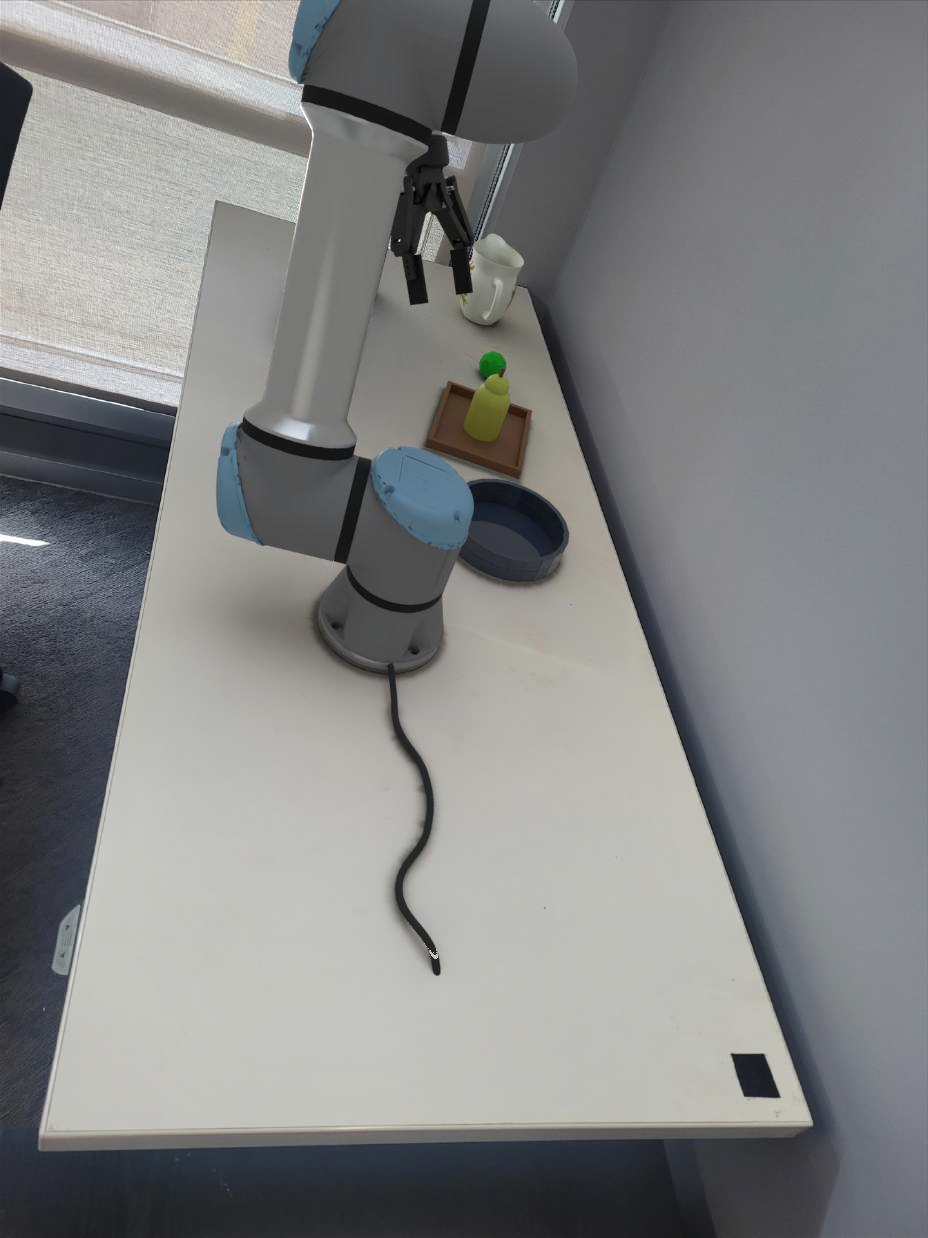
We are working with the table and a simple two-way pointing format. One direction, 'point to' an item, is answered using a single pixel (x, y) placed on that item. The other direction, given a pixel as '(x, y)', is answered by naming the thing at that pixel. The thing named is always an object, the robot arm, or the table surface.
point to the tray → (457, 443)
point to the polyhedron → (491, 363)
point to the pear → (488, 408)
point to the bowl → (513, 532)
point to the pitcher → (491, 280)
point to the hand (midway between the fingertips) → (442, 298)
